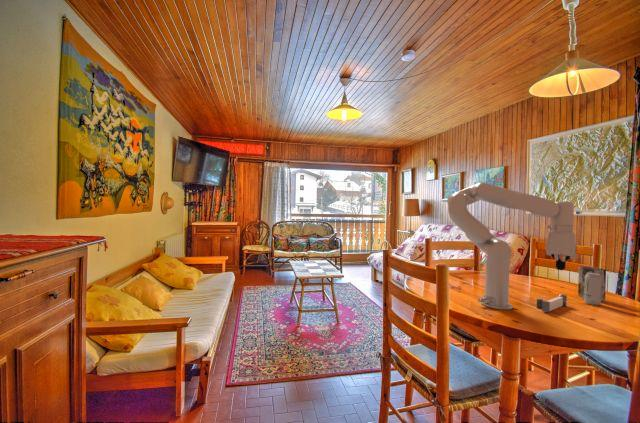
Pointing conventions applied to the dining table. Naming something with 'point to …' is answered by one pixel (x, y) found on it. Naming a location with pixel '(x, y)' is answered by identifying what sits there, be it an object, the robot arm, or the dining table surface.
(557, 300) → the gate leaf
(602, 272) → the coffee box
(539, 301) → the stop post
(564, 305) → the gate post
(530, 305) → the dining table surface
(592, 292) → the energy drink can
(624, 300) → the dining table surface
